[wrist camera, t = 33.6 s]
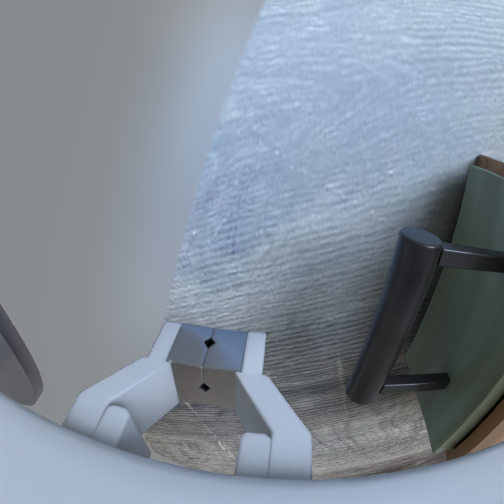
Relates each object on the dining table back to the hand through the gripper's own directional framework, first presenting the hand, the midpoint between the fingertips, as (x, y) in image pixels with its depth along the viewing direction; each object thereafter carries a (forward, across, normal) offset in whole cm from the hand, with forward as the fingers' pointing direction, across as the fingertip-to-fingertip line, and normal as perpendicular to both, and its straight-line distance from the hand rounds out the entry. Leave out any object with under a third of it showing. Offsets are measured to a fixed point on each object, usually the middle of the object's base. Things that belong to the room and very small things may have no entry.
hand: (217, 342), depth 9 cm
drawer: (+5, -14, 0) cm, 15 cm away
